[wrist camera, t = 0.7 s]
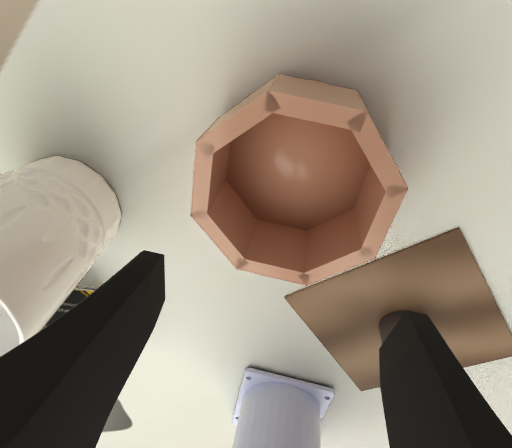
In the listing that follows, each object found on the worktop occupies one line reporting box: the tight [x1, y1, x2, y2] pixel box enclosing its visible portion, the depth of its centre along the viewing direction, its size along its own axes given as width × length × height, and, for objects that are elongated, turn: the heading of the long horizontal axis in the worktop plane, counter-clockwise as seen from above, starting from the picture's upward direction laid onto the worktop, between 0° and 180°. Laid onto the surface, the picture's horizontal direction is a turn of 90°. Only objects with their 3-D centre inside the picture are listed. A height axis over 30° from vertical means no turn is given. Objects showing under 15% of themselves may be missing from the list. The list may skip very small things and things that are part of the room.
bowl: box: [191, 74, 408, 286], centre depth 17 cm, size 9×9×4 cm
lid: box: [285, 227, 512, 391], centre depth 23 cm, size 12×12×5 cm
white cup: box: [0, 156, 121, 356], centre depth 19 cm, size 8×8×10 cm
